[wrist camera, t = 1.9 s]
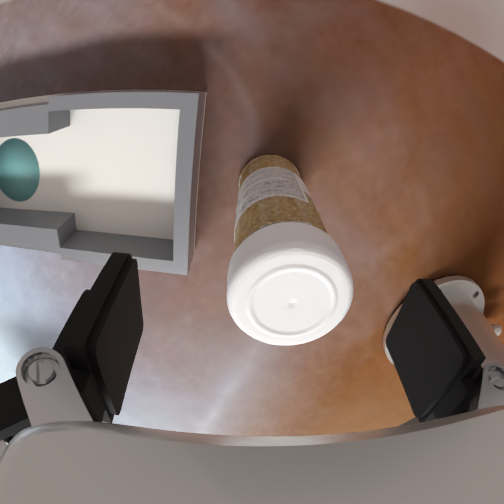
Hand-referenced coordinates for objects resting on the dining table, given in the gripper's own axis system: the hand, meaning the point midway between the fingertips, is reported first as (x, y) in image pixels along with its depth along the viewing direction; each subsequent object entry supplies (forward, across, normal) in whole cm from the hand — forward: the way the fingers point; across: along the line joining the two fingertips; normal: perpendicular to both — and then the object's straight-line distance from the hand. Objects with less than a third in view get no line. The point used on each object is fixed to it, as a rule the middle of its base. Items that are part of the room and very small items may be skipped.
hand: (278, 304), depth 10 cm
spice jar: (+14, -1, 0) cm, 14 cm away
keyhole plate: (+14, +14, 0) cm, 20 cm away
